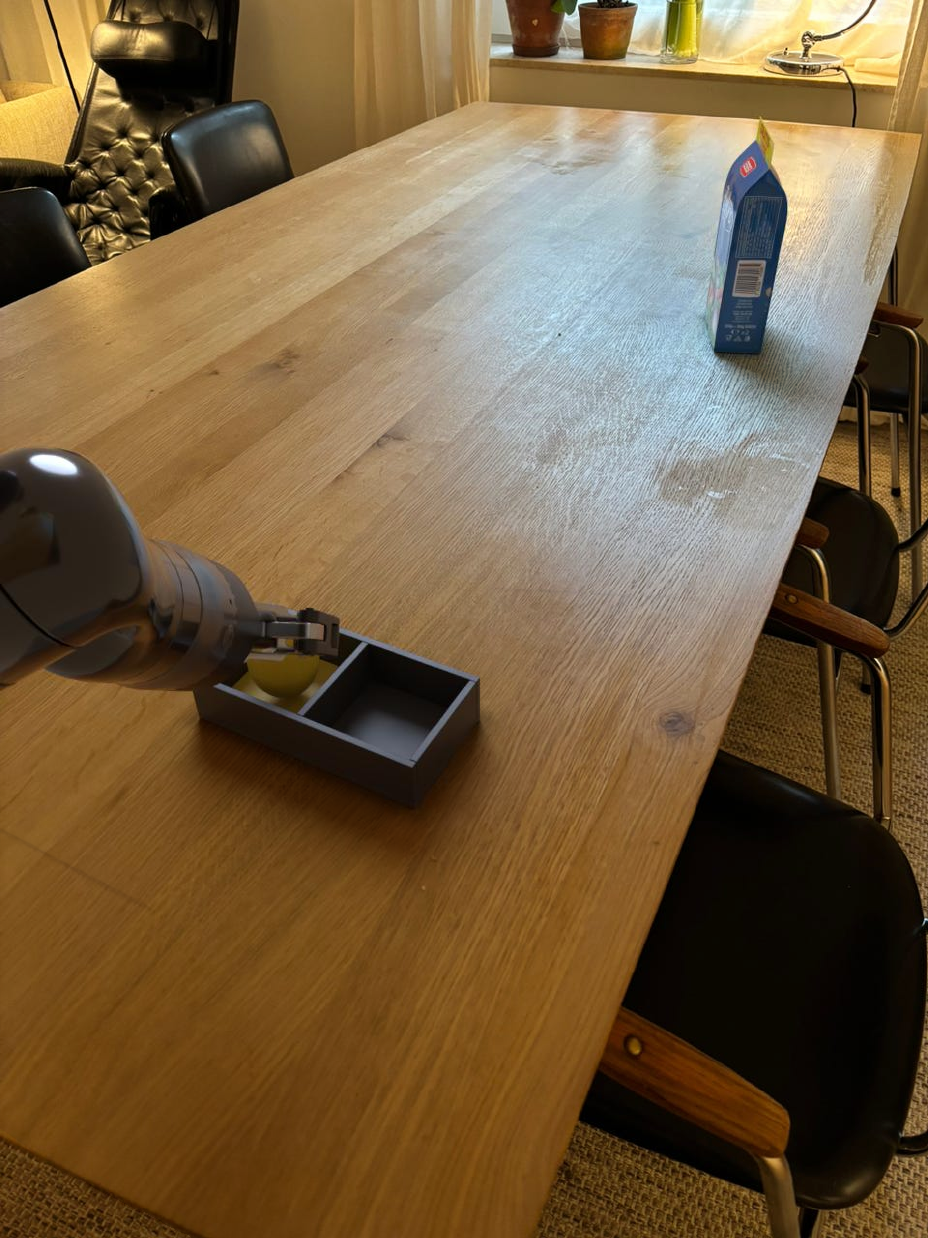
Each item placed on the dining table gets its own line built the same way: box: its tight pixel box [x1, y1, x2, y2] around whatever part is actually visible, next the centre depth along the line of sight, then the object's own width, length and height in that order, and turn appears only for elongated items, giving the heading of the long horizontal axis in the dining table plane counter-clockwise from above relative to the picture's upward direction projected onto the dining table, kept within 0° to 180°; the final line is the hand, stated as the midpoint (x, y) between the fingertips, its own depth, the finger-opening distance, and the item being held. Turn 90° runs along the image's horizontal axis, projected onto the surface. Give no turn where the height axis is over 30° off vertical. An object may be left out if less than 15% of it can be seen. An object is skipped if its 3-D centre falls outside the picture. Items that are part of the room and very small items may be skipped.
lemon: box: [247, 639, 319, 698], centre depth 77 cm, size 6×6×8 cm
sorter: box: [192, 601, 481, 810], centre depth 77 cm, size 10×20×4 cm, turn 62°
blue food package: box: [704, 116, 789, 354], centre depth 123 cm, size 6×12×25 cm, turn 175°
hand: (248, 637), depth 67 cm, fingers open, 8 cm apart
